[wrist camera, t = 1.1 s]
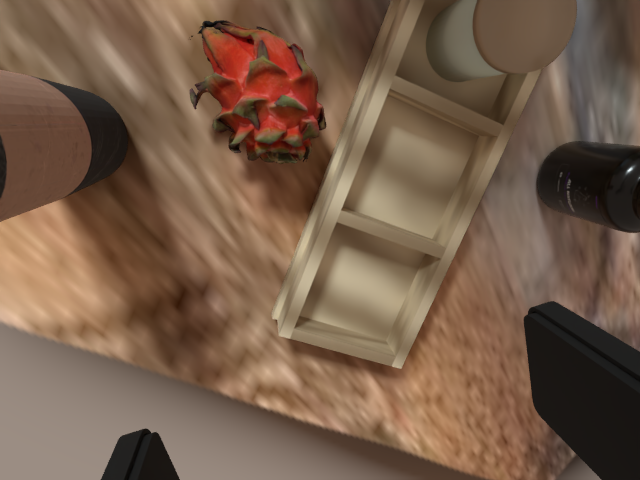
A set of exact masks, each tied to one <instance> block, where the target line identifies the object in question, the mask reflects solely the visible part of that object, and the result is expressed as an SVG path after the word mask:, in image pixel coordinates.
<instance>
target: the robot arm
mask: <svg viewBox="0 0 640 480" xmlns="http://www.w3.org/2000/svg"><path fill="white" fill-rule="evenodd" d="M524 328H525V336H526V345H527V354H528V363H529V372H530V381H531V389H532V398H533V404H534V407H535V409H536V411H537V413H538V414H539V415H540V417H541V418H542V419H543V420H544V421H545V422H546V423H547V424H548V425H549V426H550V427H551V428H552V429H553V430H554V431H555V432H556V433H557V434H558V435H559V436H560V437H561V438H562V439H563V440H564V441H565V443H566V444H567V445H568V446H569V447H570V448H571V449H572V450H573V451H574V452H575V453H576V454H577V455H578V456H579V457H580V458H581V459H582V460H583V461H584V462H585V463H586V464H587V465H588V466H589V467H590V468H591V469H592V470H593V471H594V472H595V473H596V474H597V475H598V476H599V477H600V479H602V480H640V352H639V351H638V350H636V349H634V348H632V347H631V346H629V345H627V344H626V343H624V342H622V341H621V340H619V339H617V338H616V337H614V336H612V335H611V334H609V333H607V332H606V331H604V330H602V329H600V328H599V327H597V326H595V325H594V324H592V323H590V322H589V321H587V320H585V319H584V318H582V317H580V316H579V315H577V314H575V313H574V312H572V311H570V310H568V309H567V308H565V307H563V306H562V305H560V304H558V303H556V302H554V301H551V302H547V303H544V304H541V305H538V306H535V307H531V308H530V309H529V311H528V315H526V316H525V317H524ZM101 480H180V479H179V477H178V475H177V473H176V471H175V468H174V466H173V464H172V462H171V460H170V457H169V455H168V453H167V451H166V449H165V447H164V444H163V442H162V440H161V438H160V436H159V434H158V433H156V432H154V433H151V432H150V431H149V430H148V429H142V430H139V431H136V432H133V433H129V434H126V435H123V436H121V437H120V438H119V440H118V442H117V444H116V446H115V449H114V451H113V453H112V456H111V458H110V460H109V462H108V465H107V467H106V469H105V472H104V474H103V476H102V479H101Z"/></svg>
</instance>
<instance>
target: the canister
mask: <svg viewBox="0 0 640 480" xmlns="http://www.w3.org/2000/svg"><path fill="white" fill-rule="evenodd" d="M576 14H577V2H576V0H458V1H456V2H455V3H453V4H451V5H450V6H448V7H446V8H445V9H443V10H442V11H441V12H440V13H439V14H438V15H437V16H436V17H435V18H434V20H433V22H432V23H431V25H430V27H429V30H428V33H427V38H426V53H427V57H428V60H429V63H430V65H431V67H432V68H433V70H434V71H435V72H436V73H437V74H438V75H439V76H440V77H442V78H443V79H445V80H448V81H451V82H465V81H470V80H475V79H480V78H485V77H490V76H496V75H501V74H523V73H528V72H533V71H536V70H539V69H542V68H543V67H545V66H547V65H548V64H550V63H551V62H553V61H554V60H555V59H556V58H557V57H558V56H559V55H560V53H561V52H562V51H563V50H564V48H565V47H566V45H567V43H568V41H569V40H570V37H571V35H572V33H573V29H574V26H575V21H576Z"/></svg>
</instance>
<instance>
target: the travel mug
mask: <svg viewBox="0 0 640 480" xmlns="http://www.w3.org/2000/svg"><path fill="white" fill-rule="evenodd" d="M127 144H128V140H127V132H126V129H125V126H124V123H123V121H122V119H121V117H120V116H119V114H118V113H117V112H116V110H115V109H114V108H113V107H112V106H111V105H110V104H109V103H108V102H106V101H105V100H104V99H102V98H101V97H99V96H97V95H95V94H93V93H90V92H87V91H84V90H81V89H78V88H74V87H70V86H66V85H63V84H59V83H55V82H51V81H48V80H44V79H40V78H36V77H33V76H28V75H24V74H19V73H14V72H8V71H3V70H0V222H1V221H3V220H6V219H9V218H11V217H14V216H17V215H19V214H22V213H25V212H27V211H30V210H33V209H36V208H38V207H41V206H44V205H46V204H49V203H52V202H54V201H57V200H60V199H62V198H64V197H66V196H68V195H70V194H72V193H74V192H77V191H79V190H81V189H83V188H85V187H87V186H89V185H91V184H93V183H95V182H97V181H99V180H101V179H103V178H105V177H107V176H109V175H110V174H112V173H113V172H114V171H115V170H116V169H117V168H118V167H119V166H120V165H121V163H122V161H123V160H124V157H125V155H126V151H127Z"/></svg>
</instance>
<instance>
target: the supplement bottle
mask: <svg viewBox="0 0 640 480" xmlns="http://www.w3.org/2000/svg"><path fill="white" fill-rule="evenodd" d="M538 191H539V194H540V197H541V199H542V200H543V202H544V203H545V204H546V205H547V206H548V207H550V208H552V209H554V210H556V211H559V212H562V213H565V214H568V215H571V216H574V217H577V218H580V219H584V220H587V221H590V222H593V223H596V224H599V225H603V226H606V227H609V228H612V229H615V230H619V231H623V232H627V233H638V232H640V146H634V145H622V144H610V143H597V142H583V141H575V142H569V143H566V144H563V145H561V146H559V147H558V148H556V149H555V150H554V151H553V152H551V153H550V154H549V155H548V157H547V158H546V159H545V161H544V162H543V164H542V166H541V168H540V171H539V175H538Z"/></svg>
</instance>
